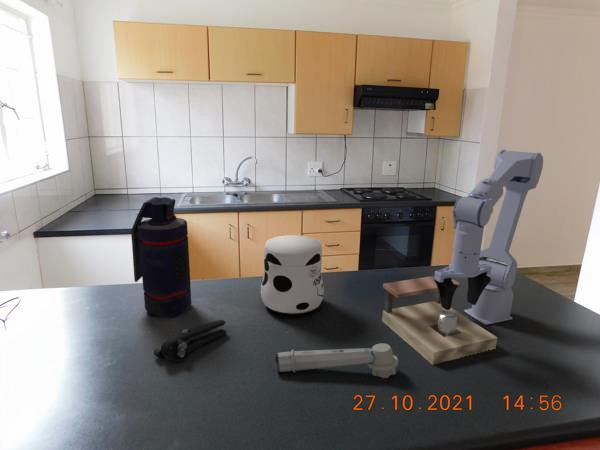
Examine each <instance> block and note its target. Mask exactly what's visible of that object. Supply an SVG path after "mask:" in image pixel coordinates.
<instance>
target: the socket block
mask: <svg viewBox="0 0 600 450" xmlns="http://www.w3.org/2000/svg"><path fill="white" fill-rule="evenodd" d="M434 276H435V275H430V276H425V277H417V278H411V279H406V280H405V279H404V280H398V281H392V282H386V283H383V284H382V288H383V289H384V290H385V296H384V297H385V298H384V306H383V307H384V308H383V310H382V315H381V316H382V317H381V321H382V323H383V324H385V325H386V326H387V327H389V329H391V330H392V331H393V332H394V333H395V334H396V335H398V336H399V337H400V339H402V340H403V341H405V342H406V343H407V344H408V345H409V346H410V347H411V348H412V349H414V350H415V351H416V352H417V353H418V354H419V355H421V356H422V358H424V359H425V360H426V361H427V362H429V363H430V364H431V366H433V365H437V364H440V363H445V362H449V361H453V360H457V359H461V357H462V358H465V356H466V357H469V355H470V356H473V354H474V355H477V353H478V354H481V352H482V353H485V351H486V352H489V351H488V350H490V351H493V349H494V350H496V347H497V343H498V337H497V336H496V335H495V334H493V333H491V332H489V331H488V330H486V329H485V328H483V327H482V326H480V325H479V324H477V323H475V322H474V321H472V320H471V319H469V318H468V317H466V316H465V315H463V314H461V313H460V312H458V311H457V310H455V309H454V308H452V307H451V308H450V310H446V309H444V308H443V307H442V306H441V299H440V294H439V290H438V287H437V285H436V283H435V281H434ZM452 281H453V283H454V284H455V285H457V286H458V287H457V288H461V283H460V282H458V281H457V280H455V279H452ZM428 293H429V294H430V293H435V294H434V301H433V300H432V301H428V302H423V303H418V304H412V305H405V306H401V307H400V306H399V307H395V308H393V303H394V297H395V298H397V299H400V298H405V297H413V296H417V295H423V294H428ZM441 311H450V312H453V313H455V314H456V315H457V323H456V330H455V335H451V336H447V337H443V336H442V335H440V334H439V333H438V332H437V328H438V320H439V313H440V312H441Z"/></svg>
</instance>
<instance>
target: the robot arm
mask: <svg viewBox="0 0 600 450" xmlns="http://www.w3.org/2000/svg"><path fill="white" fill-rule="evenodd" d="M543 168H544V157H543V155H542V153H541V152H536V153H535V152H528V151H527V152H524V151H516V150H506V149H501V150H500V151H499V152H498V153H496V156H495V159H494V164H493V169H494V170H493V171H492V173H491V175H489V177H487V178H484V179H482V180H480V181H479V182H478V184H476V186H475V187H474V188H472V190H471V192H469V194H468V195H466V196H462V197H459V198H458V199H457V200H456V201H455V202H454V207H453V209H452V219H453V226H452V227H453V229H454V231H455V232H454V239H453V246H452V247H453V248H452V255H451V262H449V263H448V266H446V267H444V268H442V269H440V270H439V269H438V270H435V271H434V275H433V276H434V281H435V283H436V285H437V287H438V290H439V294H440V299H441V306H442V307H443V308H444V309H446V310H450V308H452V303H453V297H454V295H455V293H456V290H457V287H458V286H457V285H455V284H454V283H453V281H452V279H453V280H455V279H460V278H466V279H467V297H466V301H467V302H468V303H469V304H471V305H472V306H471V308H467V309H464V310H463V313H466V314H467V315H469V316H470V317H472V318H474V319H475V320H477V321H478V322H480V323H482V324H483V325H485V326H487V325H492V324H496V323H502V322H505V321H510V320H513V316H511V312H512V305H513V300H514V292H513V289H512V287H513V285H514V284H515V282H516V281H515V280H516V276H517V269H518V268H517V267H518V261H517V260H516V259H515V258H514V256H513V255H512V254H511V253H510V249H511V246H512V243H513V239H514V236H515V232H516V230H517V227H518V223H519V219H520V217H521V213H522V211H523V208H524V207H523V206H524V203H525V200H526V197H527V195H528V193H529V191H531V190H534V189H536V188H537V185H538V184H539V181H540V177H541V175H542V171H543ZM504 188H505V194H504ZM502 197H503V200H502V203H501V206H500V209H499V213H498V216H497V220H496V223H495V226H494V229H493V233H492V235H491V239H490V242H489V246H488V247H487V248H484V249H482V243H483V236H484V232H485V230H484V229H485V226H486V225H488V224H489V221H490V219H491V217H492V216H491V215H492V214H493V212H494V207H495V206H496V204H497V203H498V201H499V200H500V199H501V198H502ZM490 259H491V260H490Z"/></svg>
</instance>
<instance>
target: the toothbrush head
mask: <svg viewBox="0 0 600 450" xmlns="http://www.w3.org/2000/svg"><path fill="white" fill-rule="evenodd" d="M363 364H364V365H365V364H367V367H368V368H369V372H370V374H371V375H372V376H374V377H380V378H381V379H387V378H388V379H389V377H390V376H395V375H396V373H397V366H398V364H399V359H398V356H397V355H394V353H393V349H392V347H391V345H390V344H388V343H384V342H383V343H382V342H380V343H377V344H374V345H373V346H372V347H362V348H360V347H359V348H339V349H317V350H316V349H314V350H313V349H312V350H295V349H291V350H290V351H282V352H276V353H275V366H276V372H277V373H285V372H286V373H287V372H293V373H296V372H297V371H306V370H307V371H308V370H316V369H326V368H333V367H334V368H335V367H342V366H344V367H345V366H353V365H354V366H355V365H363Z"/></svg>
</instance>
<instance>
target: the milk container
mask: <svg viewBox="0 0 600 450" xmlns="http://www.w3.org/2000/svg"><path fill="white" fill-rule="evenodd" d="M322 248H323V247H322V244H321V241H319V240H318V239H316V238H314V237H309V236H305V235H293V234H291V235H288V234H287V235H281V236H280V235H279V236H274V237H271V238H268V240H266V241H265V244H264V249H263V256H264V257H263V277H262V281H261V284H260V296H261V300H262V302H263V304H264V306H265V307H266V308H268V309H269V310H271V311H273V312H275V313H279V314H282V315H290V316H293V315H304V314H306V313H307V314H308V313H311V312H313V311H315V310H316V309H318V308H319V307H320V305H321V303H322V302H323V298H324V293H325V285H324V283H323V278H322V265H323V264H322V263H323V249H322Z"/></svg>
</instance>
